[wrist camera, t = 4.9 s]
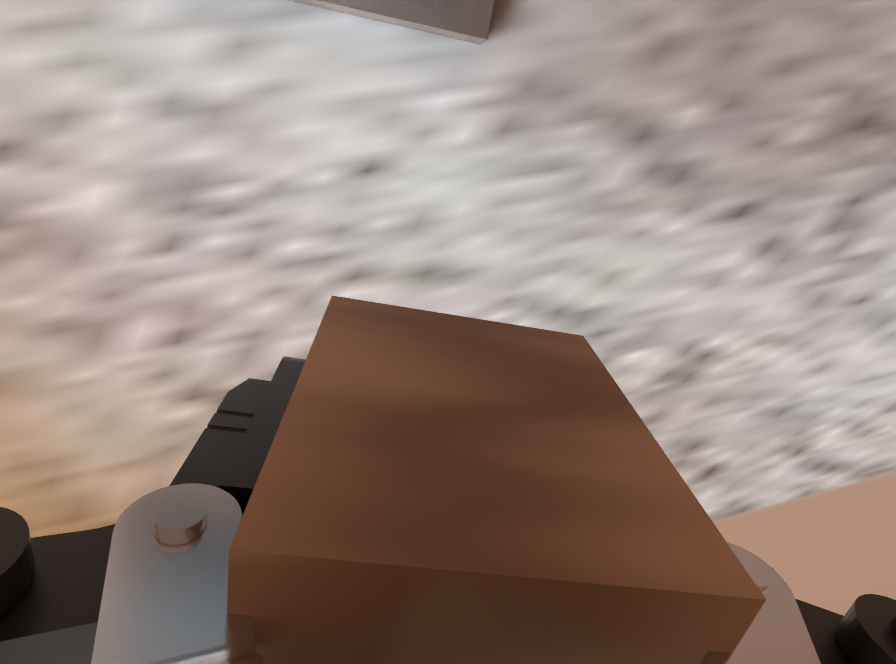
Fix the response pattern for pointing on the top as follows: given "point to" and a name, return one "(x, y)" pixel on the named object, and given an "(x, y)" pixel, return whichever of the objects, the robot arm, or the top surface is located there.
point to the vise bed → (422, 15)
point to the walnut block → (474, 509)
